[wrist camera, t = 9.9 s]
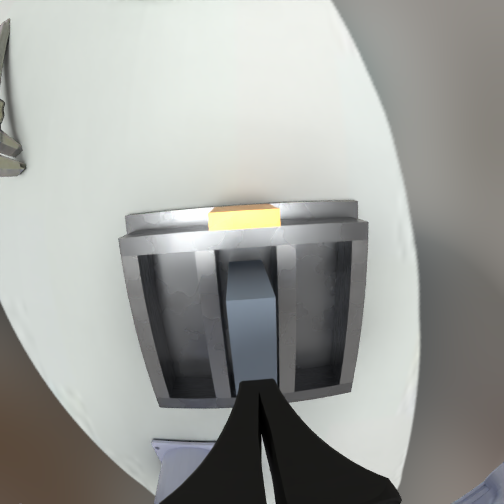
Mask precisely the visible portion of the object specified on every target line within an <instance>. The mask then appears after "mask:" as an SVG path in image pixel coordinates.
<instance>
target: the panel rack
mask: <svg viewBox="0 0 504 504" xmlns="http://www.w3.org/2000/svg"><path fill="white" fill-rule="evenodd" d="M125 220H126V229H127V235H124V236H122V237H120V238H118V240H119V247H120V254H121V260H122V266H123V272H124V277H125V283H126V288H127V293H128V298H129V302H130V307H131V311H132V316H133V320H134V324H135V328H136V332H137V336H138V340H139V343H140V347H141V351H142V354H143V358H144V361H145V364H146V368H147V371H148V374H149V377H150V381H151V384H152V387H153V390H154V393H155V395H156V398H157V401H158V404H159V407H163V408H233V406H234V403H235V400H236V397H237V395H236V387H235V379H234V371H233V362H232V354H231V345H230V336H229V326H228V317H227V307H226V293H227V280H228V267H229V262H233V261H248V260H262V262H263V264H264V267H265V270H266V273H267V275H268V278H269V281H270V283H271V286H272V289H273V292H274V294H275V297H276V338H277V385H278V387H279V389H280V391H281V393H282V394H283V396H284V397H285V399H286V400H287V402H288V403H290V402H298V401H304V400H311V399H317V398H323V397H328V396H333V395H338V394H343V393H348V392H351V388H352V383H353V378H354V372H355V367H356V361H357V354H358V348H359V341H360V334H361V326H362V317H363V308H364V298H365V286H366V272H367V253H368V222H367V221H364V220H360V219H358V201H355V200H346V201H306V202H281V203H261V204H244V205H229V206H215V207H203V208H191V209H180V210H170V211H160V212H150V213H141V214H132V215H127V216H125Z"/></svg>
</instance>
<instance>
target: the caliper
mask: <svg viewBox="0 0 504 504" xmlns="http://www.w3.org/2000/svg"><path fill="white" fill-rule="evenodd" d="M9 22H10V18H9V19H7V20H6V21H4V22H3V23H2V24H1V25H0V83H1V75H2V68H3V61H4V56H5V51H6V46H7V41H8V37H9V32H10V25H9ZM4 106H5V102H4V101H3V100H1V99H0V153H2V154H5V155H8V156H13V157H16V156H17V155H18V154H19V153H20V152H21V151H22V147H21V145H20V144H19V143H18V142H16V141H15V140H14V139H12V138H11V137H10V136H8V135H7V134H6V133H5V132H3V131H2V130H1V123H2V121H3V118H4ZM25 167H26V164H24V163H21V162H18V161H15V160H13V159H10V158H8V157H5V156H2V155H0V177H11V176H18V175H19V174H20V173H21V172H22V171H23V170H24V169H25Z"/></svg>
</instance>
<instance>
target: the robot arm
mask: <svg viewBox="0 0 504 504" xmlns="http://www.w3.org/2000/svg"><path fill="white" fill-rule="evenodd" d="M261 434H262V438H263V442H264V446H265V451H266V455H267V459H268V463H269V467H270V471H271V475H272V481H273V487H274V494H275V502H276V504H400V503H401V501H402V500H401V497H400V495H399V493H398V491H397V489H396V488H395V487H394V485H393V484H392V483H391V481H390V480H389V479H388V478H386V477H383V476H381V475H378V474H376V473H374V472H372V471H370V470H367V469H365V468H363V467H362V466H360V465H358V464H356V463H354V462H352V461H351V460H349V459H348V458H346V457H345V456H343V455H342V454H340V453H339V452H337V451H336V450H334V449H333V448H332V447H330V446H329V445H328V444H327V443H325V442H324V441H323V440H322V439H321V438H319V437H318V436H317V435H316V434H315V433H314V432H313V431H312V430H311V429H310V428H309V427H308V426H307V425H306V424H305V423H304V422H303V421H302V419H301V418H300V417H299V416H298V415H297V414H296V412H295V411H294V410H293V408H292V407H291V406H290V404H289V403H288V402H287V400H286V399H285V397H284V396H283V394H282V393H281V391H280V389H279V387H278V385H277V383H276V381H275V380H274V379H273V378H271V379H260V380H248V381H241V382H240V383H239V389H238V393H237V397H236V400H235V403H234V406H233V409H232V411H231V414H230V416H229V418H228V421H227V423H226V425H225V427H224V428H223V430H222V432H221V434H220V436H219V438H218V439H217V441H216V442H176V441H162V440H152V442H151V445H152V446H153V448H154V450H155V452H156V454H157V456H158V458H159V460H160V461H161V463H162V465H161V470H160V475H159V480H158V485H157V491H156V496H155V501H154V504H267V503H266V496H265V489H264V481H263V473H262V465H261ZM451 504H504V462H503V463H502V464H500V465H499V466H498V467H497V468H496V469H495V470H494V471H493V472H491V473H490V475H489V476H488V477H487V478H486V479H485V481H483V482H482V483H481V484H479V485H478V486H477V487H475V488H474V489H472V490H471V491H470V492H468V493H467V494H465V495H464V496H462V497H461V498H459V499H458V500H456V501H454V502H453V503H451Z"/></svg>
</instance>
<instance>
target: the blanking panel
mask: <svg viewBox="0 0 504 504" xmlns="http://www.w3.org/2000/svg"><path fill="white" fill-rule="evenodd" d="M226 307H227V317H228V326H229V336H230V345H231V354H232V362H233V371H234V379H235V387H236V395H237V393H238V389H239V383H240V382H241V381H248V380H260V379H271V378H273V379H274V380H275V381H276V383H277V338H276V297H275V294H274V292H273V289H272V286H271V283H270V281H269V278H268V275H267V273H266V270H265V267H264V264H263V262H262V260H248V261H233V262H229V267H228V280H227V293H226Z"/></svg>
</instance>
